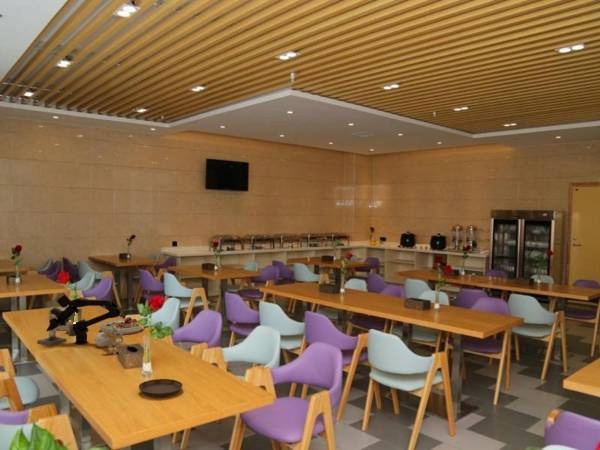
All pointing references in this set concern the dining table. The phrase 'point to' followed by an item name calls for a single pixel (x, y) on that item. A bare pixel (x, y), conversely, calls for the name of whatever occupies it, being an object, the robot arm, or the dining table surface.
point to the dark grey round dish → (47, 342)
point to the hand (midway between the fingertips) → (50, 329)
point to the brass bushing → (68, 326)
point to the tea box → (63, 327)
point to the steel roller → (52, 334)
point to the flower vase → (109, 339)
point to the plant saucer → (160, 387)
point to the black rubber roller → (72, 330)
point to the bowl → (122, 326)
